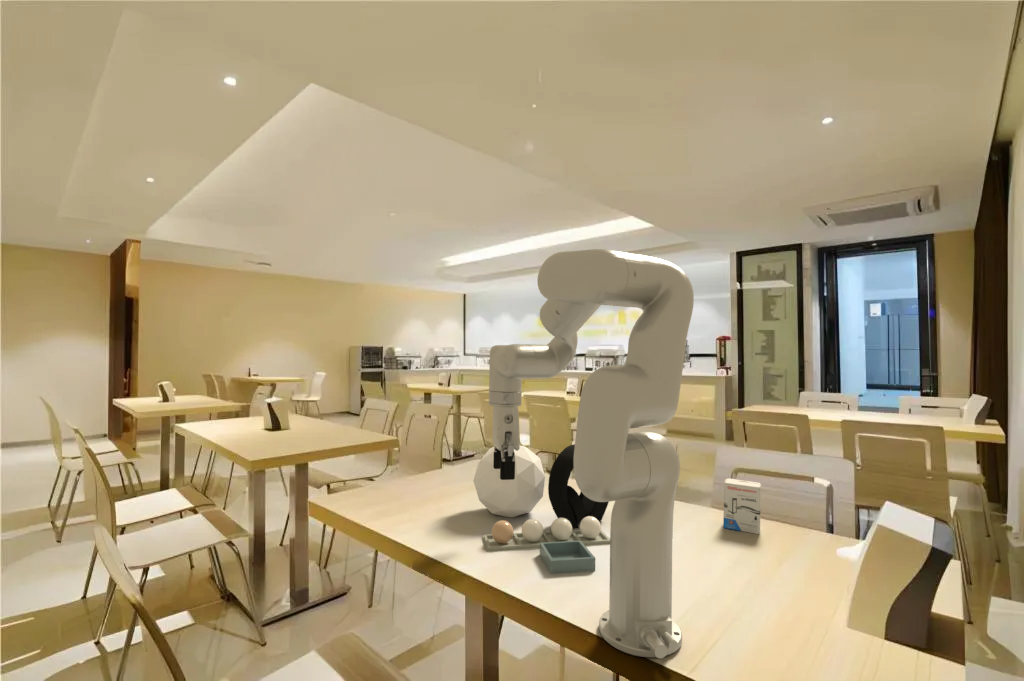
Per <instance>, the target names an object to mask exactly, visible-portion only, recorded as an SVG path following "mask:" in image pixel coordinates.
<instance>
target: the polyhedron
mask: <svg viewBox="0 0 1024 681" xmlns="http://www.w3.org/2000/svg"><path fill="white" fill-rule="evenodd" d="M494 452H497V451H494V446H493V447H490V448H488V450H487V451H486V453H484V455H483V456H482V457H481V459H480V461H479V462H478V463H477V467H476V470H475V473H474V478H473V484H474V487H475V491H476V494H477V497H478V500H479V502H480V503H481V504H482V505H483V506H484V507H485V508H486V509H487V510H488V511H489V512H490V513H491V514H493V515H497V516H501V517H506V518H516V517H519V516H522V515H526V514H527V513H531V512H532V511H533V509H534V508H535V507H536V506H537V504H538V503H539V502H540V501H541V499H543V497H544V490H545V485H546V484H545V482H546V476H545V472H544V467H543V464H542V460H541V458H540V457H539V456H538V455H536V454H535V453H534V452H533V451H531V449H529V448H528V447H527V446H524V445H520V449H519V450H518V451H516V450H515V449H514V453H515V479H514V480H501V479H500V469H494V467H493V461H494Z"/></svg>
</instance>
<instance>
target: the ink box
mask: <svg viewBox="0 0 1024 681" xmlns="http://www.w3.org/2000/svg"><path fill="white" fill-rule="evenodd" d="M761 499H762V484H761V483H760V482H757V481H751V480H750V481H749V480H743V479H735V478H728V477H727V478H725V479H724V486H723V520H722V521H723V524H722V525H723V529H727V530H728V529H729V530H733V531H739V532H744V533H749V534H750V533H751V534H756V535H760V534H761V516H762V515H761V513H762V512H761V510H762V509H761V508H762V504H761V503H762V500H761Z"/></svg>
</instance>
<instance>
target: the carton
mask: <svg viewBox="0 0 1024 681" xmlns="http://www.w3.org/2000/svg"><path fill="white" fill-rule="evenodd" d="M481 538H482V541H483V544H484V546H485V550H486V552H487V553H499V552H516V551H530V550H532V551H533V550H534V551H535V550H540V543H546V542H564V541H581V542H582V543H583V544H584V545H585V546H586V547H599V546H610V536H608V535H607V534H606V533H605V532H604V531H603V530H602V529H601V531H600V534H599V535H598V536H597V537H596V538H593V539H588V538H586V537H584V536H583V535H582V533H581V532H580V529H572V534H571V536H570V537H569V538H568V539H566V540H558V539H556V538H555V537H554V536H553V535H552V532H551V530H547V531H546V530H545V531H544V530H543V535H542V537H541V538H540V539H539V540H538V541H536V542H529V541H527V540H526V539H525V538H524V537H523V535H522V532H513V537H512V539H511V540H510V541H509V542H508V543H505V544H500V543H497V542H496V541H495V540H494V539H493V537H492V533H491V534H487V533H486V534H483V536H481Z"/></svg>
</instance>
